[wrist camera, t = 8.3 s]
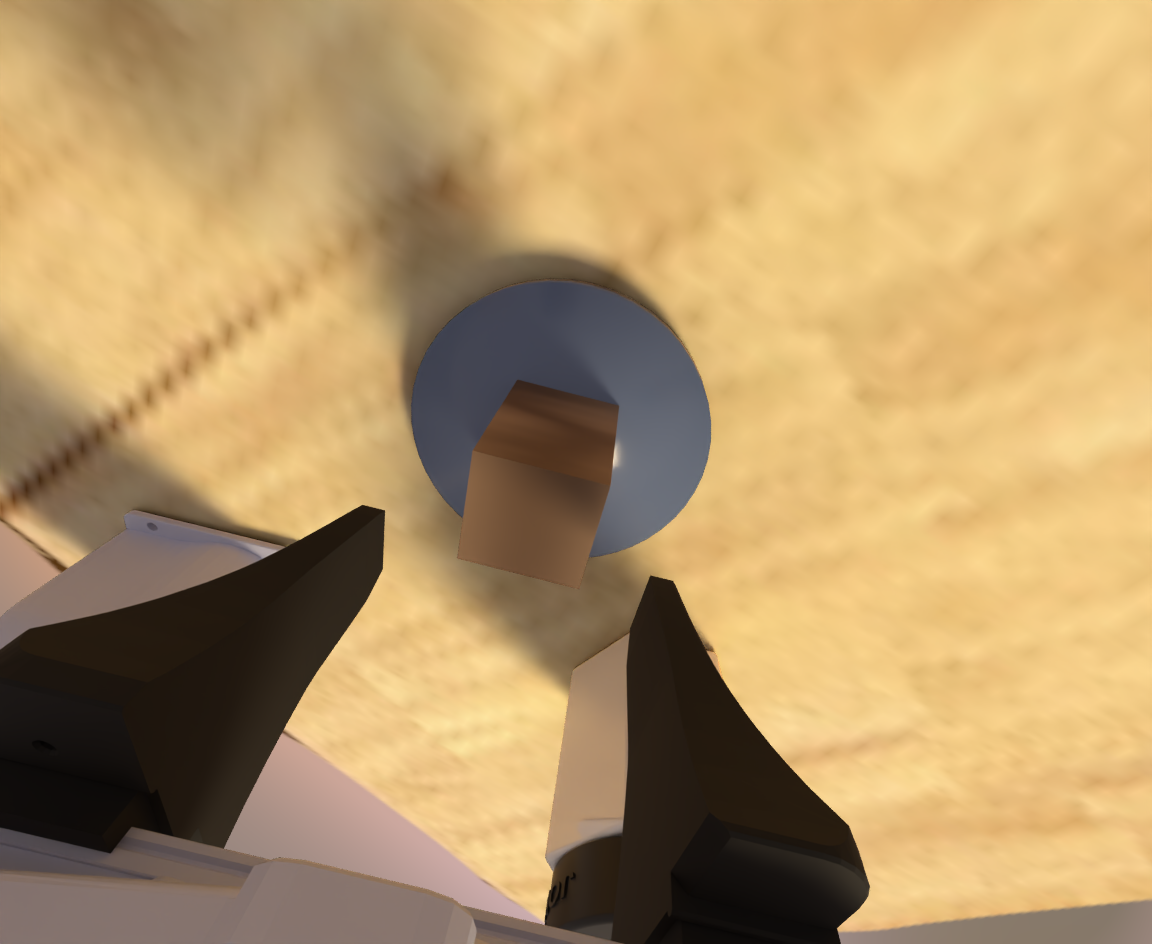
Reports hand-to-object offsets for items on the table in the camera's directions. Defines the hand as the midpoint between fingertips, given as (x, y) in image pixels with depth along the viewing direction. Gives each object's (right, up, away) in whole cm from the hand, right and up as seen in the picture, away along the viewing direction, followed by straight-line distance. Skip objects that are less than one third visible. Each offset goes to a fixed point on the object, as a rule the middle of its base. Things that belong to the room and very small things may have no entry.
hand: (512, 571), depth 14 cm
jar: (+6, -9, +15) cm, 19 cm away
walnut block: (+1, +4, +7) cm, 8 cm away
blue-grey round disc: (+1, +4, +8) cm, 9 cm away
